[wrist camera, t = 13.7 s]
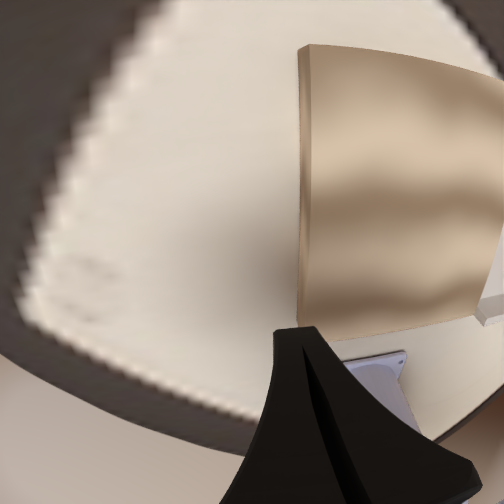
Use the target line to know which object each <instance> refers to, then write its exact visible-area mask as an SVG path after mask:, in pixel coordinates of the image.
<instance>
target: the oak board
mask: <svg viewBox="0 0 504 504" xmlns="http://www.w3.org/2000/svg"><path fill="white" fill-rule="evenodd" d="M298 70H299V103H300V240H299V274H298V300H297V323H298V327H307V326H315V327H316V328H317V329H318V331H319V332H320V334H321V335H322V337H323V338H324V339H325V341H326V342H332V341H339V340H346V339H353V338H360V337H366V336H372V335H378V334H384V333H390V332H396V331H401V330H406V329H412V328H417V327H422V326H427V325H432V324H436V323H441V322H445V321H450V320H454V319H459V318H463V317H467V316H471V315H474V313H475V311H476V308H477V306H478V303H479V300H480V298H481V295H482V292H483V290H484V287H485V284H486V281H487V278H488V275H489V272H490V269H491V266H492V263H493V260H494V256H495V253H496V250H497V246H498V243H499V239H500V235H501V232H502V228H503V224H504V81H501V80H498V79H495V78H493V77H490V76H486V75H483V74H480V73H477V72H474V71H470V70H467V69H463V68H460V67H456V66H452V65H448V64H444V63H440V62H436V61H432V60H427V59H423V58H418V57H413V56H408V55H402V54H396V53H390V52H384V51H377V50H370V49H362V48H353V47H343V46H331V45H316V44H309V45H307V46H305V47H303V48H301V49H299V50H298Z"/></svg>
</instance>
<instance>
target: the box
mask: <svg viewBox="0 0 504 504" xmlns="http://www.w3.org/2000/svg"><path fill="white" fill-rule="evenodd" d="M474 316H475V317H476V318H477V319H478V321H479V322H480V323H481V324H482V326H483V327H485V326H488V325H491V324H495V323H498V322H501V321H504V224H503V228H502V232H501V235H500V239H499V243H498V246H497V250H496V253H495V256H494V260H493V263H492V266H491V269H490V272H489V275H488V278H487V281H486V284H485V287H484V290H483V292H482V295H481V298H480V300H479V303H478V306H477V308H476V311H475V313H474Z"/></svg>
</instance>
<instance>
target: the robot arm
mask: <svg viewBox="0 0 504 504" xmlns="http://www.w3.org/2000/svg"><path fill="white" fill-rule="evenodd" d="M406 358H407V355H406V353H405V352H398V353H393V354H388V355H383V356H378V357H372V358H367V359H361V360H355V361H349V362H343V363H342V361H341V360H340V359H339V358H338V357H337V355H336V354H335V353H334V351H333V350H332V349H331V348H330V346H329V345H328V343H327V342H326V341H325V339H324V338H323V337H322V335H321V334H320V332H319V331H318V329H317V328H316V327H315V326H307V327H298V328H288V329H278V330H276V331H275V332H273V370H272V376H271V382H270V386H269V390H268V394H267V398H266V402H265V405H264V409H263V412H262V415H261V418H260V421H259V424H258V427H257V430H256V432H255V435H254V437H253V440H252V442H251V444H250V447H249V449H248V452H247V454H246V456H245V458H244V460H243V462H242V464H241V466H240V468H239V471H238V472H237V474H236V476H235V478H234V479H233V481H232V483H231V485H230V487H229V489H228V490H227V492H226V493H225V495H224V497H223V499H222V500H221V502H220V503H219V504H468V499H469V498H471V497H472V496H473V495H475V494H476V493H477V492H479V491H480V490H481V488H482V486H483V485H482V482H481V480H480V477H479V475H478V472H477V470H476V469H475V467H474V465H473V463H472V462H471V461H470V460H468V459H466V458H464V457H461V456H459V455H457V454H455V453H453V452H451V451H449V450H447V449H445V448H443V447H441V446H440V445H438V444H436V443H435V442H433V441H431V440H430V439H428V438H426V437H425V436H423V435H422V434H421V431H420V429H419V427H418V425H417V422H416V420H415V418H414V415H413V413H412V411H411V409H410V406H409V404H408V402H407V400H406V398H405V395H404V393H403V391H402V389H401V387H400V385H399V382H398V378H399V376H400V373H401V371H402V368H403V366H404V363H405V361H406ZM497 504H504V499H503V500H502V501H500V502H499V503H497Z"/></svg>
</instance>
